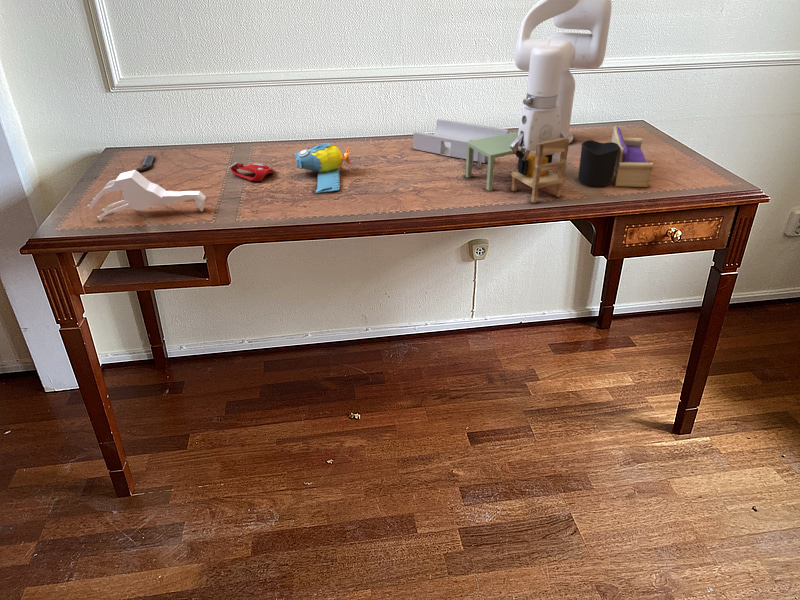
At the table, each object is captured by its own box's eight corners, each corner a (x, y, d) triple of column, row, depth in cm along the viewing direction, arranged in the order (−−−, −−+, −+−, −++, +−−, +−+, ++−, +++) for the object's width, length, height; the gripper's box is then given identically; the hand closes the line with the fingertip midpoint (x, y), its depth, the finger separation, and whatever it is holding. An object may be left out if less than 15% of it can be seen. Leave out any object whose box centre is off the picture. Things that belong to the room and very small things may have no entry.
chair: (510, 189, 160) (515, 132, 151) (537, 183, 163) (544, 127, 155) (533, 203, 152) (539, 144, 144) (561, 196, 156) (569, 138, 147)
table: (464, 176, 168) (466, 141, 163) (523, 163, 176) (526, 129, 170) (488, 191, 159) (490, 155, 154) (549, 177, 167) (553, 142, 161)
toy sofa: (649, 188, 159) (657, 151, 153) (614, 187, 160) (621, 149, 155) (637, 160, 176) (644, 125, 171) (606, 159, 178) (613, 124, 172)
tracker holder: (271, 163, 176) (276, 167, 167) (270, 179, 177) (275, 183, 168) (228, 159, 172) (231, 162, 163) (227, 175, 173) (230, 179, 164)
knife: (149, 171, 176) (149, 168, 175) (135, 172, 175) (135, 170, 175) (156, 154, 187) (156, 152, 187) (143, 155, 187) (142, 153, 186)
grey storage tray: (508, 147, 188) (510, 121, 183) (478, 169, 173) (479, 141, 168) (438, 134, 199) (438, 109, 195) (404, 154, 184) (404, 127, 180)
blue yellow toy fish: (350, 159, 156) (291, 163, 155) (353, 190, 161) (296, 195, 160) (348, 126, 180) (297, 130, 179) (350, 154, 184) (300, 158, 184)
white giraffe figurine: (124, 251, 153) (210, 210, 150) (80, 197, 144) (170, 153, 141) (129, 242, 158) (212, 202, 154) (86, 189, 149) (174, 146, 146)
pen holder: (593, 190, 159) (599, 153, 153) (569, 178, 166) (574, 143, 160) (619, 183, 162) (627, 147, 157) (595, 172, 169) (601, 137, 164)
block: (522, 171, 157) (523, 155, 154) (535, 168, 158) (537, 152, 156) (532, 177, 153) (534, 160, 151) (546, 174, 155) (548, 157, 153)
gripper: (521, 110, 140) (515, 182, 150) (580, 99, 146) (570, 169, 156) (503, 102, 146) (497, 172, 155) (560, 92, 152) (551, 160, 162)
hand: (534, 170), depth 156 cm, fingers open, 6 cm apart
